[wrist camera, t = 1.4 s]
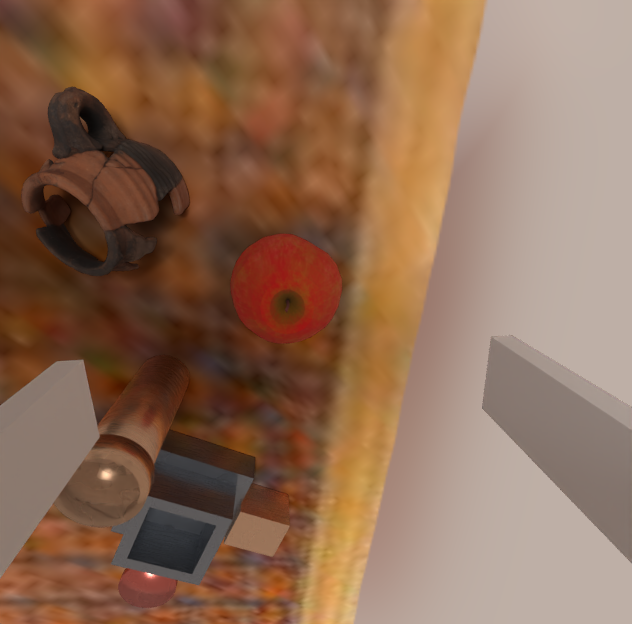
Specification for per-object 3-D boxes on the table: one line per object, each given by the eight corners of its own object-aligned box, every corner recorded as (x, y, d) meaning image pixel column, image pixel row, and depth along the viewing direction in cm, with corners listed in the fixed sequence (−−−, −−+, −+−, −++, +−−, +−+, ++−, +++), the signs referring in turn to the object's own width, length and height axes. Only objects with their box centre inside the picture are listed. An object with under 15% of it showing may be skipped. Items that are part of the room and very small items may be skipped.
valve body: (56, 530, 39) (11, 600, 32) (102, 407, 35) (63, 458, 29) (243, 577, 43) (238, 647, 37) (300, 472, 40) (305, 528, 33)
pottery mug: (213, 237, 32) (150, 288, 26) (126, 239, 36) (53, 285, 29) (157, 70, 26) (55, 85, 20) (57, 92, 29) (-57, 111, 23)
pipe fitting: (126, 391, 35) (37, 513, 22) (145, 342, 34) (64, 439, 21) (182, 410, 36) (130, 536, 23) (202, 363, 35) (160, 468, 22)
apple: (338, 235, 33) (367, 255, 23) (322, 326, 35) (343, 380, 25) (241, 221, 32) (226, 235, 22) (231, 315, 34) (214, 368, 24)
